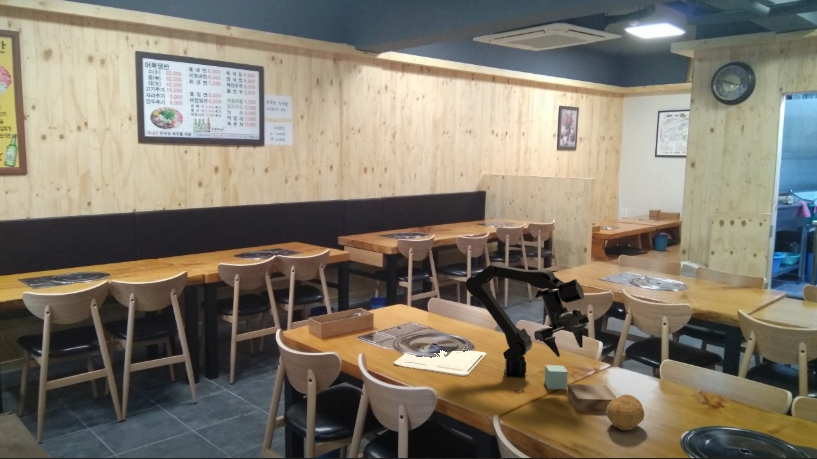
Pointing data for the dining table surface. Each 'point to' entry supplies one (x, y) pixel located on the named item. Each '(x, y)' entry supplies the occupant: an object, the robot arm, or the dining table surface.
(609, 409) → the potato
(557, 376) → the teal cube
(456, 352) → the tray
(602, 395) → the walnut block
